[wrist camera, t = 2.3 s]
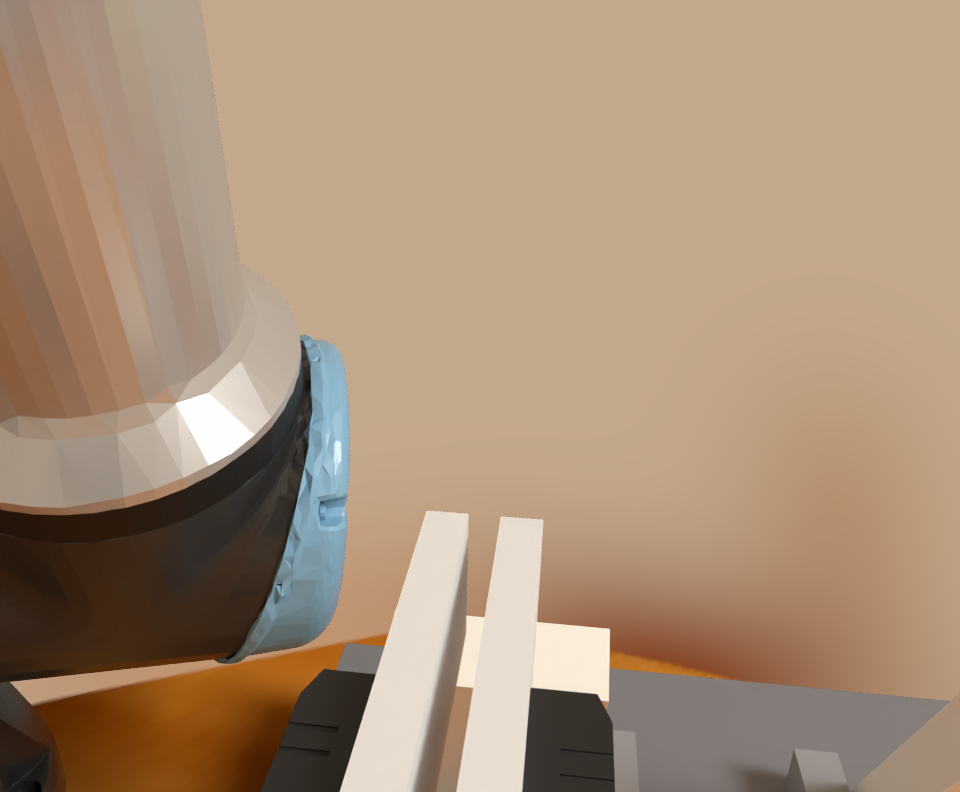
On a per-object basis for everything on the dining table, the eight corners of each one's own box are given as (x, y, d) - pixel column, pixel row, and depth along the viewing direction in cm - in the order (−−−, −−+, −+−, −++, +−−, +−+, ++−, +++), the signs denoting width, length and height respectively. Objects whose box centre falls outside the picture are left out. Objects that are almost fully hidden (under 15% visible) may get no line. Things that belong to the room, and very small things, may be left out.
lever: (579, 818, 31) (608, 701, 22) (419, 800, 32) (382, 678, 22) (581, 761, 32) (610, 629, 23) (427, 745, 33) (395, 609, 24)
